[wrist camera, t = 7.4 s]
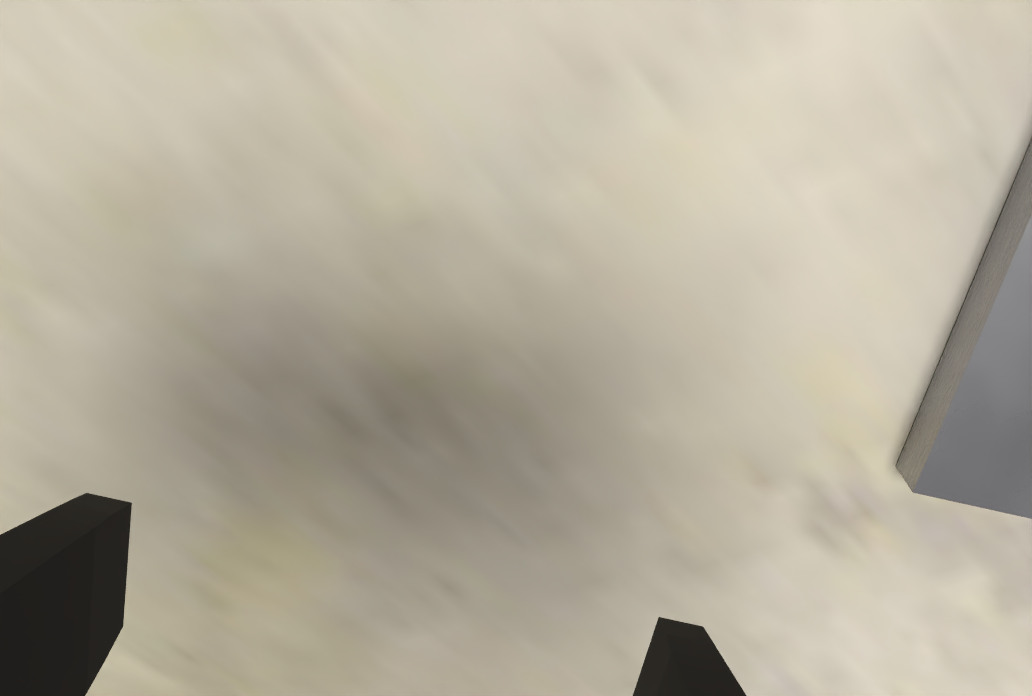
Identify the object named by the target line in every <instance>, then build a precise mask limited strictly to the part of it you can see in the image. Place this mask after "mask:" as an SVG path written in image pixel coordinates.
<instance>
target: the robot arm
mask: <svg viewBox="0 0 1032 696" xmlns="http://www.w3.org/2000/svg"><path fill="white" fill-rule="evenodd" d="M131 505H132V503H130V502H126V501H121V500H116V499H112V498H107V497H103V496H98V495H93V494H89V493H86V494H83V495H81V496H79V497H77V498H74V499H72V500H70V501H68V502H66V503H64V504H62V505H60V506H57V507H55V508H53V509H51V510H49V511H47V512H45V513H43V514H41V515H39V516H37V517H35V518H33V519H31V520H29V521H27V522H25V523H23V524H21V525H19V526H17V527H15V528H13V529H11V530H9V531H7V532H5V533H3V534H1V535H0V696H85V695H86V693H87V692H88V690H89V688H90V686H91V684H92V683H93V681H94V679H95V677H96V676H97V674H98V672H99V670H100V668H101V667H102V665H103V663H104V661H105V659H106V657H107V656H108V654H109V652H110V650H111V648H112V646H113V644H114V642H115V640H116V639H117V637H118V635H119V633H120V631H121V629H122V627H123V619H124V605H125V591H126V576H127V562H128V548H129V533H130V519H131ZM633 696H746V694H745V693H744V691H743V690H742V688H741V686H740V685H739V683H738V682H737V680H736V678H735V677H734V675H733V674H732V672H731V670H730V669H729V667H728V666H727V664H726V662H725V661H724V659H723V658H722V656H721V654H720V653H719V651H718V650H717V648H716V646H715V645H714V643H713V642H712V640H711V638H710V637H709V635H708V634H707V632H706V631H705V629H704V627H702V626H697V625H693V624H688V623H684V622H679V621H674V620H670V619H665V618H661V617H659V618H658V621H657V624H656V627H655V630H654V633H653V636H652V639H651V642H650V645H649V648H648V651H647V654H646V657H645V660H644V663H643V667H642V670H641V673H640V676H639V679H638V682H637V685H636V688H635V691H634V694H633Z"/></svg>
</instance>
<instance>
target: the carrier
mask: <svg viewBox="0 0 1032 696" xmlns="http://www.w3.org/2000/svg"><path fill="white" fill-rule="evenodd" d="M896 468H897V469H898V471H899V472H900V474H901V475H902V477H903V478H904V480H905V481H906V483H907V484H908V486H909V487H910V489H911V490H912V492H913V493H918V494H922V495H927V496H931V497H936V498H940V499H945V500H950V501H954V502H959V503H963V504H968V505H972V506H977V507H981V508H986V509H990V510H995V511H999V512H1004V513H1008V514H1013V515H1017V516H1022V517H1026V518H1031V519H1032V140H1031V143H1030V145H1029V148H1028V150H1027V152H1026V155H1025V157H1024V160H1023V162H1022V165H1021V167H1020V169H1019V172H1018V174H1017V177H1016V179H1015V181H1014V184H1013V186H1012V189H1011V191H1010V193H1009V196H1008V198H1007V201H1006V203H1005V205H1004V208H1003V210H1002V213H1001V215H1000V217H999V220H998V222H997V225H996V227H995V229H994V232H993V234H992V237H991V239H990V242H989V244H988V246H987V249H986V251H985V254H984V256H983V258H982V261H981V263H980V266H979V268H978V270H977V273H976V275H975V278H974V280H973V282H972V285H971V287H970V290H969V292H968V294H967V297H966V299H965V302H964V304H963V306H962V309H961V311H960V314H959V316H958V318H957V321H956V323H955V326H954V328H953V331H952V333H951V335H950V338H949V340H948V343H947V345H946V347H945V350H944V352H943V355H942V357H941V359H940V362H939V364H938V367H937V369H936V371H935V374H934V376H933V379H932V381H931V383H930V386H929V388H928V391H927V393H926V395H925V398H924V400H923V403H922V405H921V408H920V410H919V412H918V415H917V417H916V420H915V422H914V424H913V427H912V429H911V432H910V434H909V436H908V439H907V441H906V444H905V446H904V448H903V451H902V453H901V456H900V458H899V460H898V463H897V465H896Z"/></svg>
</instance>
